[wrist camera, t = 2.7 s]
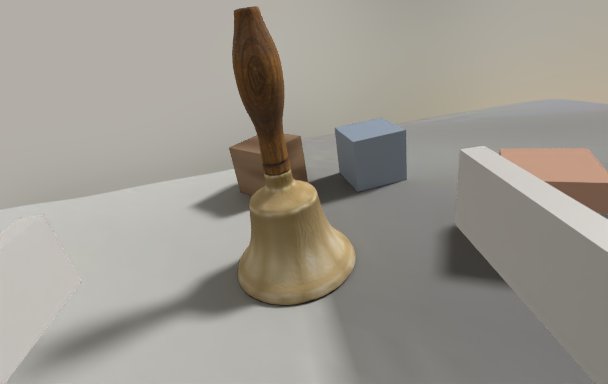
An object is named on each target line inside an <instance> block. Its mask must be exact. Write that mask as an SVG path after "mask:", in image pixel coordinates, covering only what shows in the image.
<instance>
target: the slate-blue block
mask: <svg viewBox="0 0 608 384" xmlns="http://www.w3.org/2000/svg"><path fill="white" fill-rule="evenodd" d="M335 135H336V144H337V153H338V162H339V171H340V173H341V175H342V176H343V177H344V178H345V179H346V180H347V181H348V182H349V183H350V184H351V185H352V186H353V188H354V189H355V190H356V191H357V192H359V191H363V190H367V189H371V188H375V187H379V186H383V185H387V184H391V183H395V182H399V181H403V180H407V171H406V130H405V129H403V128H401V127H399V126H397V125H395V124H393V123H391V122H389V121H387V120H385V119H383V118H377V119H373V120H368V121H364V122H359V123H355V124H350V125H346V126H341V127H336V128H335Z"/></svg>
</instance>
